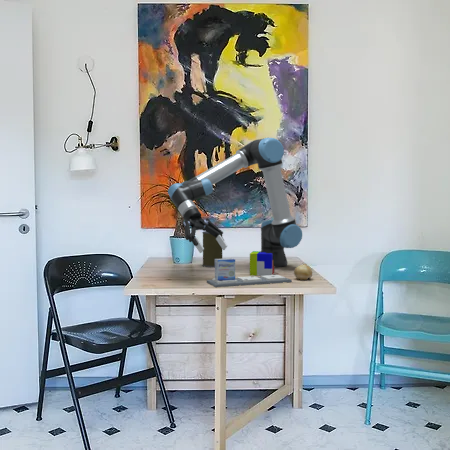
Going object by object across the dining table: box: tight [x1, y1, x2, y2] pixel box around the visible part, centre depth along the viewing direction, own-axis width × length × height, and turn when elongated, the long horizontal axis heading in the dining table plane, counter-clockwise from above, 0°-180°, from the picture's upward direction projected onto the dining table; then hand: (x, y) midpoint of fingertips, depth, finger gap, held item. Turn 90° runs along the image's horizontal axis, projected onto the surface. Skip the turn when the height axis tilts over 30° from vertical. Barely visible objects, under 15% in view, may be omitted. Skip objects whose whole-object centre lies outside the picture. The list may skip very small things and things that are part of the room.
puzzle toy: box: [249, 250, 275, 277], centre depth 261 cm, size 10×10×10 cm
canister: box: [201, 231, 223, 268], centre depth 288 cm, size 11×10×20 cm
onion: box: [293, 263, 313, 281], centre depth 246 cm, size 8×8×7 cm
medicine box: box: [214, 257, 236, 281], centre depth 235 cm, size 8×4×9 cm, turn 106°
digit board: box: [206, 274, 293, 288], centre depth 239 cm, size 34×12×2 cm, turn 109°
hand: (214, 249), depth 238 cm, fingers open, 13 cm apart
